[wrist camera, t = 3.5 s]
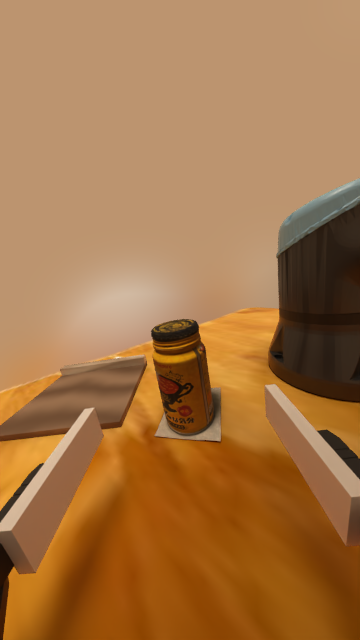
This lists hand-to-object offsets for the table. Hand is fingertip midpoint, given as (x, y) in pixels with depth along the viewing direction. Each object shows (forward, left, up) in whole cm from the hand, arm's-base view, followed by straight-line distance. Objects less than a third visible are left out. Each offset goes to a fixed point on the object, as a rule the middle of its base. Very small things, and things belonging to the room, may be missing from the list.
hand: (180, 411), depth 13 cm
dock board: (+3, -23, -7) cm, 24 cm away
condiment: (-6, -6, -7) cm, 11 cm away
